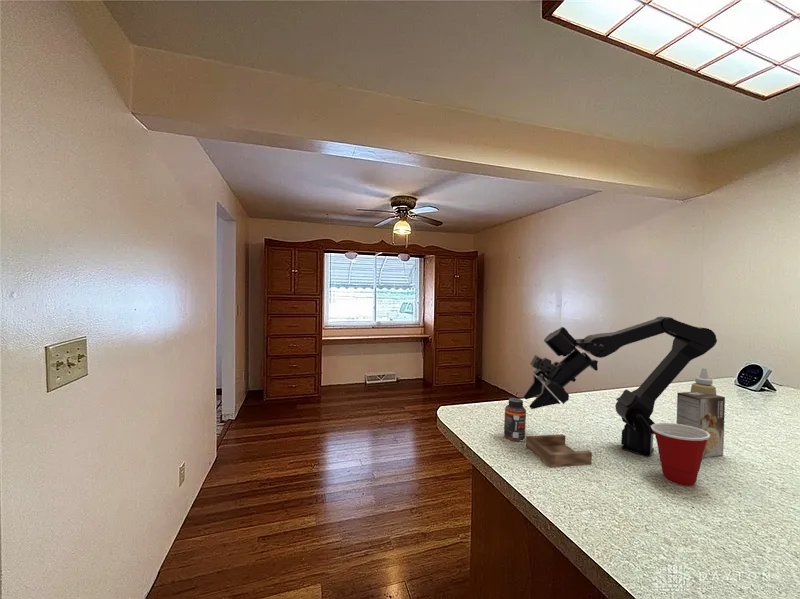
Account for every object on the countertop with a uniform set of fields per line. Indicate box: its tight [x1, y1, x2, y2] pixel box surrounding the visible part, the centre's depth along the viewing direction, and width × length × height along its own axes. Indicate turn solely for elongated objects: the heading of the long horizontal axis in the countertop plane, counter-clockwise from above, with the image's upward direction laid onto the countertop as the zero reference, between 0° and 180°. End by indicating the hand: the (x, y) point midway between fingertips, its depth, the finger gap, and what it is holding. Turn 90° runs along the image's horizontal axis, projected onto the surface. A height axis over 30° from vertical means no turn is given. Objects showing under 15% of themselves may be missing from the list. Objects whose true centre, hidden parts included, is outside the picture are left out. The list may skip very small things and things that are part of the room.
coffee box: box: [676, 391, 726, 459], centre depth 96 cm, size 9×6×16 cm
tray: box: [525, 433, 593, 468], centre depth 91 cm, size 11×11×3 cm
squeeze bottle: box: [690, 367, 717, 395], centre depth 124 cm, size 8×8×18 cm
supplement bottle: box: [503, 397, 527, 442], centre depth 102 cm, size 6×6×11 cm
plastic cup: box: [651, 422, 710, 487], centre depth 81 cm, size 11×11×12 cm
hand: (527, 402), depth 101 cm, fingers open, 9 cm apart
